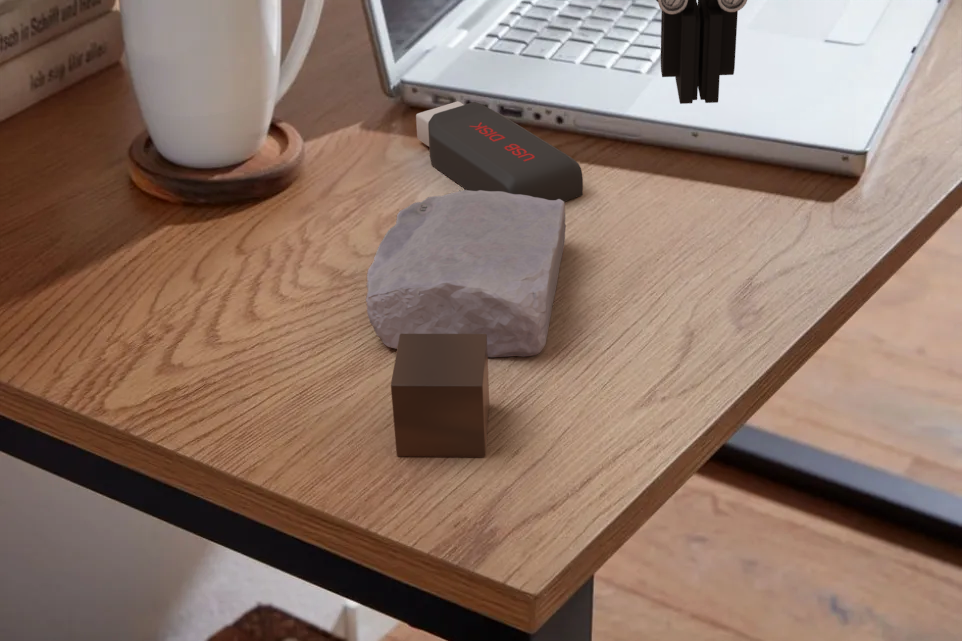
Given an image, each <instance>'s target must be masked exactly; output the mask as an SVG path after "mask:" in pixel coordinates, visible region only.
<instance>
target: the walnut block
mask: <svg viewBox="0 0 962 641" xmlns="http://www.w3.org/2000/svg"><path fill="white" fill-rule="evenodd" d="M489 382H490V381H489V357H488V351H487V334H400V336H399V341H398V347H397V349H396V354H395V359H394V365H393V371H392V377H391V381H390V394H391V406H392V417H393V427H394V428H393V429H394V439H395V454H396V457H434V458H435V457H438V458H439V457H443V458H444V457H448V458H449V457H451V458H453V457H454V458H459V457H460V458H485V457H486V455H487V454H486V453H487V439H488V427H489V411H490V387H489V386H490V384H489Z"/></svg>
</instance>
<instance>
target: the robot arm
mask: <svg viewBox="0 0 962 641" xmlns="http://www.w3.org/2000/svg"><path fill="white" fill-rule="evenodd" d="M655 1H656V2H657V3H658V6H659V8H660V10H661V13H660V15H661V17H660V18H661V19H660V73H661V77H662V78H675V83H676V84H675V85H676V89H677V95H678V102H679V104H680V105H682V104H683V105H684V104H685V105H687V104H693V101H698V93H699V100H700V101H704V103H705V104H712V103H713V104H714V103H715V104H717V103H718V104H719V96H720V76H733V75H734V74H735V67H736V52H737V51H736V49H737V33H738V32H737V31H738V15H739V14H738V12H739V11H741V10H742V9H743V8H744V7H745V6H746V4H747V2H748V0H655Z"/></svg>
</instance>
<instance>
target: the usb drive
mask: <svg viewBox="0 0 962 641" xmlns="http://www.w3.org/2000/svg"><path fill="white" fill-rule="evenodd" d="M415 122H416V123H415V124H416V138H417V140H418V141H420V142H421V143H423V144H424V145H425V146H427V147H428V148H429V149H428V150H429V158H430V165H431V166H432V167H433V168H435V169H436V170H437V171H439V172H440V173H442V174H443V175H444V176H446V177H447V178H449V179H450V180H451V181H453V182H454V183H456V184H457V185H459V186H460V187H462V188H463V189H464V190H469V191H479V190H482V191H501V192H506V193H510V194H515V195H516V194H520V195H527V196H532V197H537V198H543V199H547V200H558V199H560V200H562V201H564V202H567V201H569V200H572V199H575V198H578V197H581V196H583V194H584V178H583V170H582V167H581V165H580V164H579V163H578V162H577V160H575V159H574V158H573V157H571V156H570V155H568V154H567V153H565V152H563V151H562V150H560V149H558V148H557V147H555V146H553V145H552V144H550V143H549V142H547V141H545V140H544V139H542V138H540V137H539V136H537V135H535V134H534V133H533V132H530V131H529V130H527V129H526V128H524V127H522V126H521V125H519V124H517V123H516V122H515V121H513V120H511V119H510V118H508V117H506V116H504V115H503V114H501V113H499V112H497V111H495V110H493V109H491V108H490V107H488V106H485V105H483V104H481V103H479V102H477V101H473V102H469V103H465V104H464V103H462V102H461V101H459V100H457V101H454V102H451V103H448V104H444V105H441V106H438V107H435V108H434V107H433V108H431V109H428V110H424V111H421V112H418V113H416V115H415Z"/></svg>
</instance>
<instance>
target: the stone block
mask: <svg viewBox="0 0 962 641" xmlns="http://www.w3.org/2000/svg"><path fill="white" fill-rule="evenodd" d="M565 240H566V203H565V201H562V200H560V199H558V200H547V199H543V198H537V197H532V196H527V195H520V194H516V195H515V194H510V193H506V192H501V191H482V190H479V191H469V190H466V189H463V190H458V191H455V192H450V193H447V194H444V195H433V196H432V195H431V196H428V197H426V198H425V199H423V200H422V201H418V202H417V201H416V202H413V203H411V204H410V205H408V206H406V207H405V208H403V209H401V210H399V212H398V213H397V215H396V222H395V224H394V225H393V226H391V227H390V228H389V230H387V232H386V233H385V235H384V236H383V239H382V240H381V241H380V243H379V245H378V248H377V250H376V252H375V255H374V257H373V261H372V263H371V264H370V265H369V268H368V269H367V274H366V281H367V282H366V289H367V293H366V298H365V302H366V312H367V317H368V320H369V323H370V325H371V326H372V328H373V330H374V333H375V334H376V336H377V337H379V338H380V340H381V341H382V343H383V345H384V346H386V347H388V348H390V349H391V348H392V349H396V350H397V347H398V341H399V336H400V334H487V351H488V358H499V357H500V358H501V357H502V358H503V357H504V358H505V357H508V358H509V357H533V356H537V355H538V354H540V353H541V352H542V351H543V349H544V348H545V347H546V345H547V339H548V333H549V329H550V328H549V327H550V322H551V316H552V310H553V306H554V301H555V295H556V290H557V286H558V278H559V272H560V267H561V263H562V259H563V254H564V248H565Z"/></svg>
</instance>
